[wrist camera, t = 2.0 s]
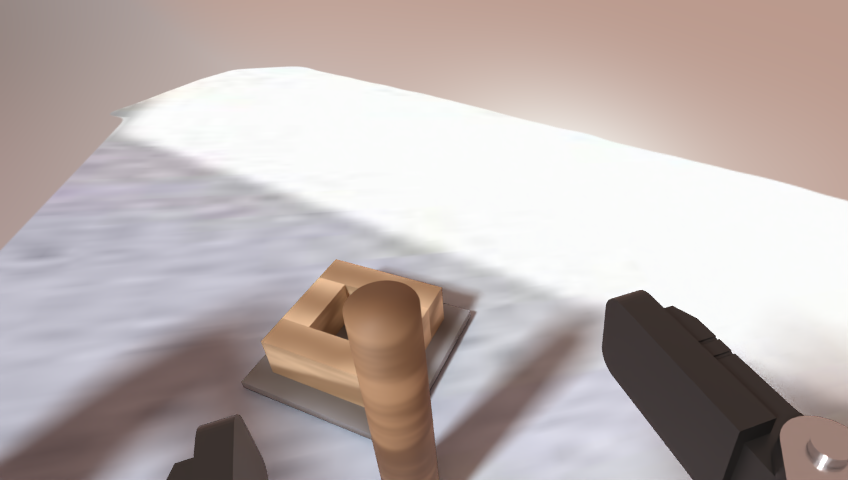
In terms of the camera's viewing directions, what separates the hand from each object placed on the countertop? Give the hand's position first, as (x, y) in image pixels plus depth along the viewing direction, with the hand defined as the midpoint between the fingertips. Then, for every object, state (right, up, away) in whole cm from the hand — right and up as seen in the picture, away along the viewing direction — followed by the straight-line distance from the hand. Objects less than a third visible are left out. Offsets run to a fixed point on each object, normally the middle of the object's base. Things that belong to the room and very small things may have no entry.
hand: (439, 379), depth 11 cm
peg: (-1, -16, +28) cm, 32 cm away
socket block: (-6, -8, +40) cm, 41 cm away
